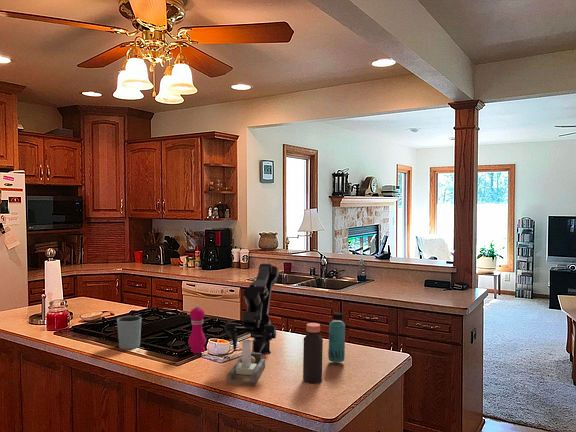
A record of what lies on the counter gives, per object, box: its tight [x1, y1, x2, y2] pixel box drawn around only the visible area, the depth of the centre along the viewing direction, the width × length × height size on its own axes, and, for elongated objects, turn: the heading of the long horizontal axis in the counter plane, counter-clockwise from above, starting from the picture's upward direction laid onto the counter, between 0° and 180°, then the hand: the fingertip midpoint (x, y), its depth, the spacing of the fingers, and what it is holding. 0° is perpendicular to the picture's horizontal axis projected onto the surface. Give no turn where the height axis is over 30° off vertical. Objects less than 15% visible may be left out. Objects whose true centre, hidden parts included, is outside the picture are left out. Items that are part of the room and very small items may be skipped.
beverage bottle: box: [327, 311, 346, 363], centre depth 189 cm, size 6×7×20 cm
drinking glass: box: [116, 315, 143, 350], centre depth 206 cm, size 10×10×12 cm
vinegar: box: [302, 322, 324, 385], centre depth 171 cm, size 7×7×20 cm
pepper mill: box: [187, 303, 207, 353], centre depth 200 cm, size 7×7×20 cm
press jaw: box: [236, 339, 257, 375], centre depth 174 cm, size 6×6×11 cm
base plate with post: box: [226, 351, 266, 387], centre depth 175 cm, size 18×10×6 cm, turn 172°
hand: (246, 351), depth 174 cm, fingers open, 9 cm apart
